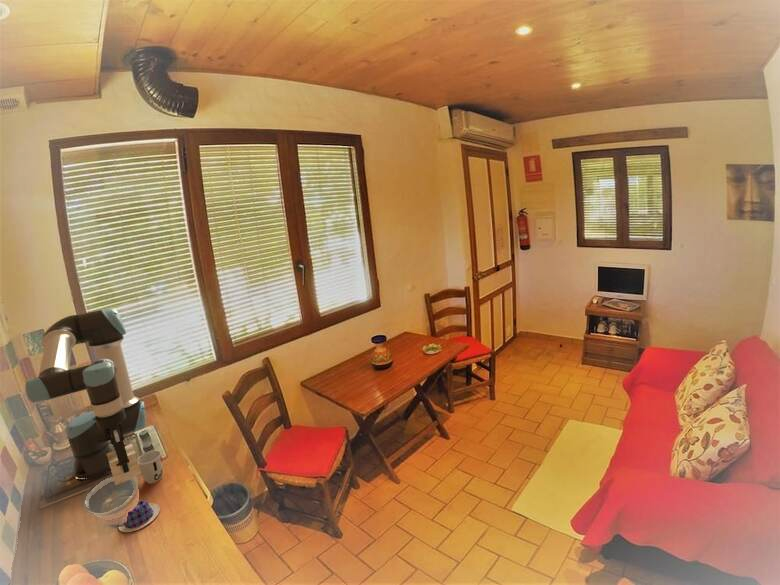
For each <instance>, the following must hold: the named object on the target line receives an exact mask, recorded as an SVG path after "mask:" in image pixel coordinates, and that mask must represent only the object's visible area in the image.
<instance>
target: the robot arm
mask: <svg viewBox="0 0 780 585" xmlns="http://www.w3.org/2000/svg"><path fill="white" fill-rule="evenodd" d="M126 334H127V329H126V327H125V324H124V322H123V319H122V317H121V315H120V313H119V311H118V310H117V309H115V308H107V309H99V310H94V311H89V312H85V313H84V312H83V313H80V314H79V313H78V314H73V315H72V314H71V315H68V316H66V317H63V318H61V319H59V320H57V321H56V322H55V323H53V324H52V325H51V326H50V327H49V328H48V329H47V330H46V331H45V332H44V334H43V336H42V339H41V345H42V347H43V348H44V349H43V353H42V357H41V361H40V362H41V363H40V367H39V371H38V375H37V376H35V377H33V378H30V379H28V380H26V382H25V385H24V386H25V387H24V388H25V393H26V396H27V398H28V400H29V401H30V402H31V403H39V402H43V401H44V402H45V401H50V400H52V399H56V398H59V397H62V396H63V397H64V396H66V395H71V394H73V393H77V392H81V391H85V390H86V392H87V394H88V398H89V403H90V405H91V406H90V407H89V411H88V412H85V413H83V414H80V415H79V416H77V417H75V418H74V419H72V420H70V422H69V423H68V424H67V425H66V426H65V427H66V428H65V433H66V439H67V440H68V442H69V445H70V448H71V452H72V454H73V459H74V460H73V466H72V475H73V474H74V475H75V476H76V477H78V478H85V479H86V478H87V479H88V480H90V479H89V478H92V479H94V478H93V477H95V478H97V477H99V475H100V476H102V475H104V474H106V473H107V472H106V471H108V470H109V471H111V470H110V469H111V468H110V465H109V461H108V457H107V453H110V452H112V451H116V455H117V458H118V464H116V466H119V467H120V471H121V474H122V478H123V481H124V482H123V483H125V482H127V481H130V480H132V479H133V478H135V477H133V473H132V470H131V466H130V463H129V459H128V456H127V453H126V449H125V446H127V444H125V443H124V440H125V437H124V436H127V435H129V434H134V433H136V432H138V431H141V430H143V429H145V428H146V425H147V422H146V421H147V420H146V409H145V408H146V407H145V401H142V400H140V398H139V397H137V396H135V394H134V391H133V388H132V387H133V386H132V383H131V380H130V376H129V372H128V369H127V364H126V360H125V356H124V352H123V349H122V345H121V344H122V342H123V341H124V338H125V337H124V335H126ZM85 343H86V344H87V343H88V346H89V348H91V349H93V350H95V354H96V360H94V361H93V362H92V363H90V364H88V365H82V366H79V367H75V368H71V360H72V358H71V357H72V349H73V348H74V347H75V345H80V344H85ZM70 368H71V369H70ZM109 441H110V442H109ZM110 444H111V445H110ZM112 446H113V447H112ZM109 471H108V472H109ZM105 472H106V473H105ZM103 473H104V474H103ZM101 474H102V475H101ZM74 475H73V476H74ZM96 476H97V477H96Z"/></svg>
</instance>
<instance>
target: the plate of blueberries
mask: <svg viewBox="0 0 780 585" xmlns="http://www.w3.org/2000/svg"><path fill="white" fill-rule="evenodd" d="M137 502H138V504H137V506H136V507H135V508H134V509H133V510H132V511H129V512H128V516H127V522H126V525H125V526H123V527H118V526H117V527H118V528H117V529H118V530H119V531H120V532H122V533H131V532H135V531H138V530H140V529H143V528H144V527H145V526H147V525H148V524H150V523H151V522H152V521H154V520H155V519H156V517H157V516H158V515H159V513H160V509H161V508H160V506H159V504H157V503H153V502H151V503H150V502H149V503H148V502H147V501H146V500H138V501H137ZM126 526H127V527H126Z"/></svg>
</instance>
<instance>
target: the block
mask: <svg viewBox="0 0 780 585" xmlns="http://www.w3.org/2000/svg"><path fill="white" fill-rule="evenodd" d="M125 449H126V453H127V456H128V459H129V463H130V466H131V470H132V473H133V477H134V478H135V477H137V476H140V475H142V474H141V471H140V468H139V464H138V460H137V459H138V457H137V453H136V451H135V448H134V446H133V443H130V444H128V445H127V444H126V446H125ZM107 457H108V461H109V465H110V468H111V470H110V472H111V475H112V477H113V482H114V484H115V486H117V485H120V484H122V483H125V482H124V481H123V478H122V474H121V471H120V467H119V466H116V464H118V458H117V455H116V451H112V452H110V453H107Z"/></svg>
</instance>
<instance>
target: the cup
mask: <svg viewBox="0 0 780 585" xmlns="http://www.w3.org/2000/svg"><path fill="white" fill-rule="evenodd" d="M137 460H138V464H139V468H140V471H141V474H140V475H141V476H142V477H143V479H144V481H145V482H146V483H147V484H156V483H157V482H159V481H160V480H161V479H162V478H163V472H164V470H163V469H164V468H163V464H164V463H163V458H162V452H161V451H160V450H157V449H155V450H150V451H147V452H144V453H143V454H141V455H140V456H138V457H137Z"/></svg>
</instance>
